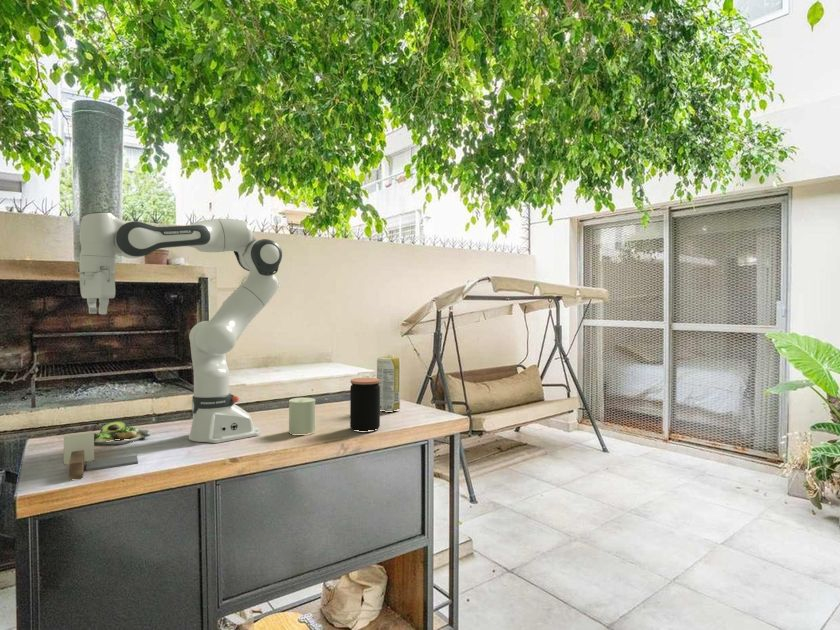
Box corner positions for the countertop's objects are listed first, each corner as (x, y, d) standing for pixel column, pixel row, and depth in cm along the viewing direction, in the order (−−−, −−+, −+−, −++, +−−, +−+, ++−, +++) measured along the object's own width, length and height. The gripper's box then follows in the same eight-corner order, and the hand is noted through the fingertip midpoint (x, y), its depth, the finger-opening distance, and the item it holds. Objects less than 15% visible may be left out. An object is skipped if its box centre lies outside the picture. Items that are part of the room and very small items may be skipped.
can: (287, 436, 168) (287, 401, 167) (289, 429, 177) (289, 396, 176) (315, 435, 170) (315, 400, 169) (315, 428, 179) (315, 395, 178)
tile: (94, 458, 142) (94, 431, 142) (94, 460, 141) (93, 432, 141) (64, 462, 139) (64, 434, 139) (63, 464, 137) (63, 436, 137)
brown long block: (84, 466, 136) (84, 450, 136) (82, 479, 126) (82, 462, 126) (72, 468, 135) (71, 451, 135) (69, 481, 125) (68, 463, 124)
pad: (136, 456, 144) (136, 454, 144) (137, 463, 138) (137, 461, 138) (87, 463, 138) (87, 461, 138) (86, 470, 132) (86, 468, 132)
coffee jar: (371, 424, 186) (371, 376, 185) (385, 430, 177) (385, 380, 176) (345, 428, 180) (345, 378, 180) (358, 434, 171) (358, 382, 171)
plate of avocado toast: (167, 434, 171) (167, 421, 170) (125, 449, 153) (125, 434, 153) (120, 430, 175) (120, 417, 175) (74, 444, 157) (74, 430, 157)
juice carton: (402, 410, 210) (403, 354, 209) (390, 414, 204) (390, 356, 203) (386, 407, 215) (386, 353, 215) (373, 410, 209) (374, 354, 209)
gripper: (121, 266, 141) (121, 314, 141) (99, 269, 154) (99, 313, 155) (96, 264, 136) (96, 314, 136) (75, 267, 150) (75, 313, 150)
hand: (97, 314), depth 145 cm, fingers open, 8 cm apart
